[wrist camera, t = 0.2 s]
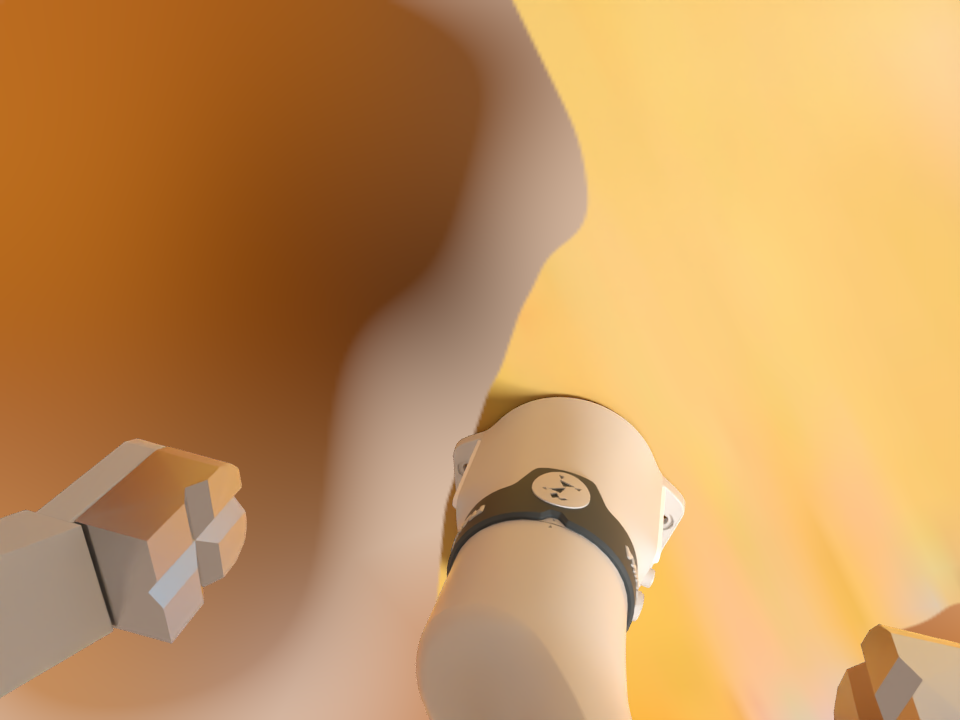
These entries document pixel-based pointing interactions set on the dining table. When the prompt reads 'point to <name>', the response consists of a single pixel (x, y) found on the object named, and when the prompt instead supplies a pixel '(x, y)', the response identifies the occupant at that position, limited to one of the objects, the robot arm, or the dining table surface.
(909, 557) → the dining table surface
